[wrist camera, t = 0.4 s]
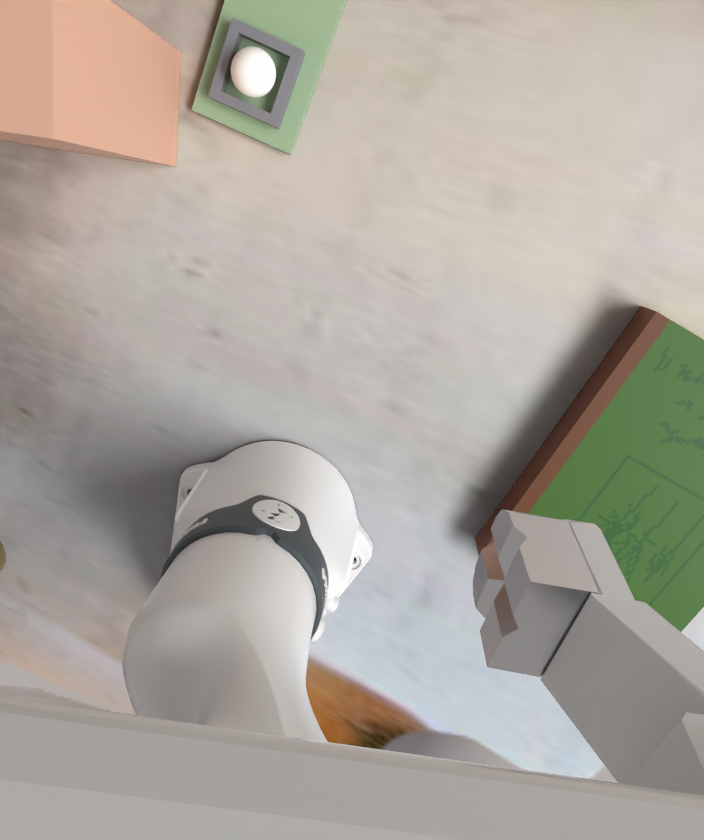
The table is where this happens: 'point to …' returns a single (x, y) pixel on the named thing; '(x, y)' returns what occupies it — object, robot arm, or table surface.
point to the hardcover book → (633, 464)
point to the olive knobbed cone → (2, 556)
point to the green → (293, 58)
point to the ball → (253, 71)
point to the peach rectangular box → (87, 80)
